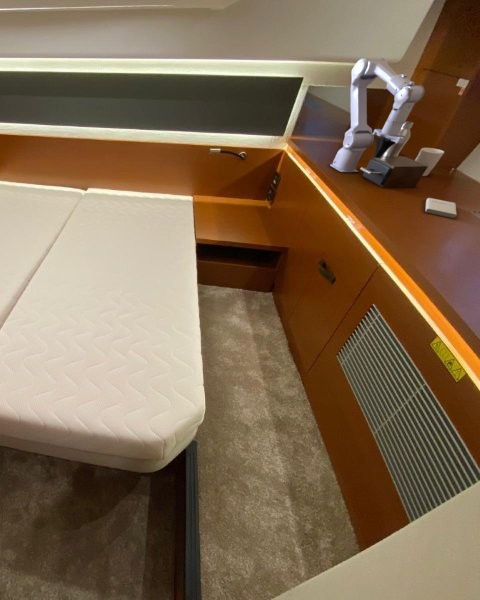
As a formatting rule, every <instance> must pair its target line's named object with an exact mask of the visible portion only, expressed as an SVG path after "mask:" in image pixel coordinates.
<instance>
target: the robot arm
mask: <svg viewBox="0 0 480 600" xmlns="http://www.w3.org/2000/svg"><path fill="white" fill-rule="evenodd" d="M377 78H380V79H381V80H382V81H383V82H385V83H386V89H387V91H388V92H390V94H392V95H393V96H394V99H393V100H394V102H393V104H392V109H391V112H389V115H388V117H387V119H386V121H385V122H384V124H383V127H382V129H381V128H375V129H374V130H373V129H372V127H370V126H369V125H368V113H367V112H368V111H367V110H368V107H367V106H368V105H367V103H368V101H367V100H368V99H367V98H368V97H367V96H368V95H367V94H368V93H367V92H368V91H367V88H368V86H369V85H371V84H372V83H373V82H374V81H375V80H376V79H377ZM349 89H350V128H349V129H348V130H347V131H346V132H344V139H343V142H342V147H341V148H340V149H339V150H338V151H337V153H336V154H335V157H334V159H333V161H332V163H331V164H329V166H330V167H332V168H333V169H335V170H337V171H338V172H340V173H359V170H357V169H356V168H357V165H358V163H359V161H360V160H361V157H362V156H363V153H364V151H366V150H367V149H368V148H370V147H371V146H372V145H373V144H374V141H375V148H374V153H373V157H375V158H380V157H382V155H383V154H384V153H385V152H386V151H387V149H389V148H390V147H391V146H392V145H393V144H395V143H397V144H402V143H403V141H404V139H405V138H403V137H401V136H400V135H399V132H400V130H401V128H402V126H403V124H404V122H407V119H408V117H409V116H410V113H411V111H412V109H413V107H414V105H415V104H416V103H419V101H421V100H422V98H423V97H424V95H425V91H426V90H425V87H424V86H423V85H422V84H419V85H416V84H415V81H411V80H410V79H409V78H408V74H406V73H400V74H397V73H396V72H395V71H394V69H393V68H392V67H391V66H390V65H389V60H386V58H384V57H379V58H365V57H363V58H362V57H361V58H360V59H359V60H357V62H356V63H355V64H354V66H353V68H352V69H351V83H350V88H349ZM375 136H378V137H376V138H375Z"/></svg>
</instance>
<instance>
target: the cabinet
mask: <svg viewBox="0 0 480 600" xmlns="http://www.w3.org/2000/svg"><path fill="white" fill-rule="evenodd" d="M372 159H374V160H376V161H379V162H381V163H383V164H385V165H387V166H389V167H391V168H392V169H391V171H390V173H389V175H388V176H387V178H386V180H385V182H384V183H383V185H379V184H377V183H376V182H374V181H372V180H370V179H368V178H367V177H365V176H363V175H362V177H363V178H364V179H366V180H369V182H372V183H373V184H375V185H377V186H379V187H380V188H382V189H383V188H384V189H385V188H386V189H387V188H416V187H417V185H418V183H419V182H420V180H421V179H422V177H423V176H422V175H423V174H424V172H425V170H426V169H427V167H428V166H426V165H424V164H421V163H419V162H417V161H415V159H412V158H409V157H408V156H399V155H398V157H382V156H381V157H380V158H375V157H374V156H373V157H372Z"/></svg>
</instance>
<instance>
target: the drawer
mask: <svg viewBox="0 0 480 600" xmlns="http://www.w3.org/2000/svg"><path fill="white" fill-rule="evenodd" d="M391 169H392V168H390V167H388V166H387V165H385V164H383V163H381V162H379V161H376V160H374V159H373V158H371V159H369V161H368V164H367V165H366V167H363V166H362V167H360V168H359V170H360V171H361V172H363V173H362V177H363V176H365V177H367V178H368V179H370V180H372V181H374V182H376V183H377V184H379V185H383V183H384V182H385V180H386V178H387V176H388V175H389V173H390V171H391ZM365 177H364V178H365ZM368 179H367V180H368ZM370 180H369V181H370ZM372 181H371V182H372ZM374 182H373V183H374ZM377 184H376V185H377ZM379 185H378V186H379Z"/></svg>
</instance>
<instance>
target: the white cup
mask: <svg viewBox="0 0 480 600" xmlns="http://www.w3.org/2000/svg"><path fill="white" fill-rule="evenodd" d="M444 154H445V151H444V150H442V149H439V148H433V147H422V148H421V149H420V150H419V152H418V154H417V155H416V158H415V159H414V161H417V162H419V163H421V164H424V165H426V166H428V167H427V169H426V170H425V172H424V174H423V175H422V177H427V176H429V174H430V173H431V171H433V169H434V168H435V166H436V165H437V164H438V162H439V161H440V160H441V158H442V157H443V156H444Z"/></svg>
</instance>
